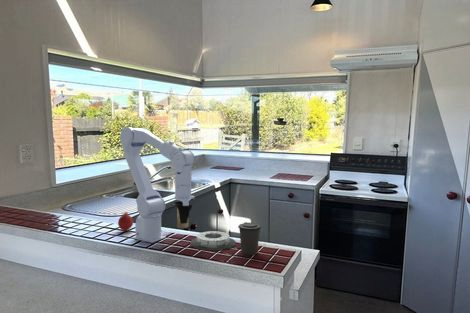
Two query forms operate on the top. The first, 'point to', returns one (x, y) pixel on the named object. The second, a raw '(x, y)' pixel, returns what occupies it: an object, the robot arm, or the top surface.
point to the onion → (125, 222)
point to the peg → (180, 222)
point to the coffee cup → (249, 237)
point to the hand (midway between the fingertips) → (182, 221)
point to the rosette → (213, 241)
